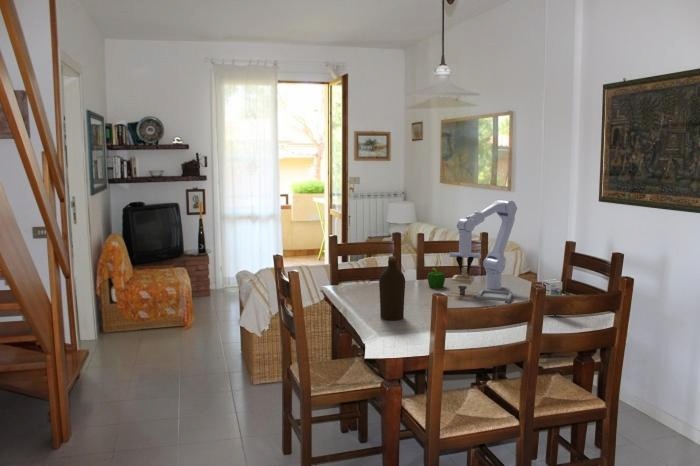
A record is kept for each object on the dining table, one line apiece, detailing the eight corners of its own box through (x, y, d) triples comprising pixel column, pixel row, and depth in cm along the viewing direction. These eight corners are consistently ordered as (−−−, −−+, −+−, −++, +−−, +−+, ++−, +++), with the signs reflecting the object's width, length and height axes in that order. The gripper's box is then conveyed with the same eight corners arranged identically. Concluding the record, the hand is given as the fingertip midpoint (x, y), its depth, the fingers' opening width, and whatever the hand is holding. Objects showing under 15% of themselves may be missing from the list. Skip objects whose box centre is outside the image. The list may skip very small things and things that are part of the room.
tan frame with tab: (455, 277, 295) (455, 266, 294) (474, 278, 292) (474, 267, 291) (451, 283, 284) (451, 271, 283) (470, 284, 281) (471, 272, 280)
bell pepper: (447, 289, 303) (448, 269, 302) (433, 291, 300) (433, 270, 299) (439, 286, 311) (439, 266, 309) (424, 287, 308) (425, 267, 306)
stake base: (452, 292, 297) (452, 282, 296) (477, 294, 293) (477, 283, 292) (447, 298, 285) (447, 287, 285) (473, 299, 281) (474, 289, 281)
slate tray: (480, 293, 294) (480, 289, 294) (512, 295, 289) (512, 291, 289) (476, 300, 280) (476, 296, 280) (509, 302, 276) (509, 298, 275)
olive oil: (393, 322, 245) (394, 260, 241) (373, 317, 252) (373, 257, 249) (410, 317, 252) (410, 256, 249) (390, 312, 260) (390, 253, 256)
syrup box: (549, 317, 252) (550, 282, 250) (541, 313, 257) (542, 279, 255) (561, 316, 253) (563, 281, 251) (553, 312, 259) (554, 278, 257)
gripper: (448, 244, 289) (447, 273, 290) (479, 246, 284) (479, 275, 286) (451, 242, 295) (450, 270, 297) (481, 244, 290) (481, 272, 292)
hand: (464, 272), depth 292 cm, fingers closed on tan frame with tab, 2 cm apart
